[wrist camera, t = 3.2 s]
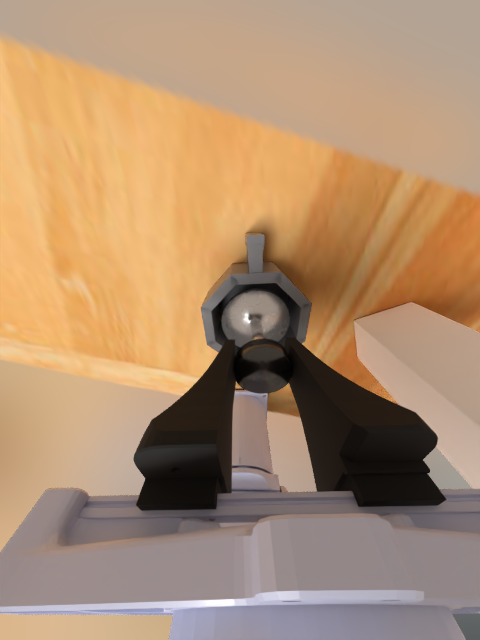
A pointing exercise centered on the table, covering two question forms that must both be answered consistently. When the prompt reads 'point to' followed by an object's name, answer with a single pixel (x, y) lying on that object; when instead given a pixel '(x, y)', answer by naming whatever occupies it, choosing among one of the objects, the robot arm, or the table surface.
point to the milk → (429, 375)
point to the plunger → (258, 339)
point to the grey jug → (251, 278)
